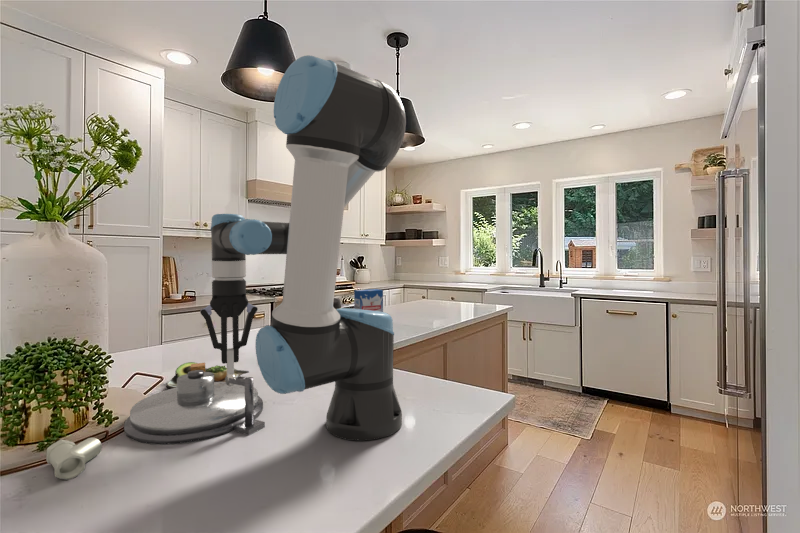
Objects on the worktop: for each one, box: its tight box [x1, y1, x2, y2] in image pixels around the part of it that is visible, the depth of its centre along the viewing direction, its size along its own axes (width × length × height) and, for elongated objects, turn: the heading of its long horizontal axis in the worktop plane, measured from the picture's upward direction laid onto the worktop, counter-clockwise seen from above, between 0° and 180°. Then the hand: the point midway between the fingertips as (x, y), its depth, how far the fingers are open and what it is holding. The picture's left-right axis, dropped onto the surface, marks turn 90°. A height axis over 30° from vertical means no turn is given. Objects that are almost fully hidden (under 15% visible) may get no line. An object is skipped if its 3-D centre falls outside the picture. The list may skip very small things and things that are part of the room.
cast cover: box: [177, 370, 214, 406], centre depth 84 cm, size 7×7×6 cm
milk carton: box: [353, 288, 384, 312], centre depth 160 cm, size 10×6×20 cm, turn 119°
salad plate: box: [166, 361, 250, 390], centre depth 108 cm, size 19×18×5 cm
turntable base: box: [123, 395, 264, 445], centre depth 85 cm, size 26×26×1 cm
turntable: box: [129, 362, 259, 435], centre depth 84 cm, size 24×24×7 cm
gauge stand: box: [225, 373, 266, 436], centre depth 79 cm, size 8×4×10 cm, turn 64°
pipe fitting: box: [46, 437, 103, 481], centre depth 64 cm, size 8×4×7 cm
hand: (230, 375), depth 96 cm, fingers closed
